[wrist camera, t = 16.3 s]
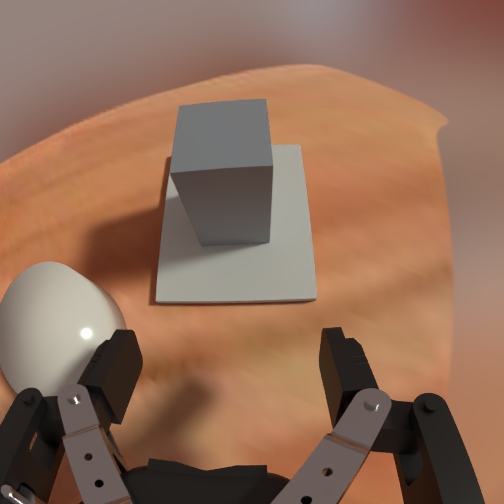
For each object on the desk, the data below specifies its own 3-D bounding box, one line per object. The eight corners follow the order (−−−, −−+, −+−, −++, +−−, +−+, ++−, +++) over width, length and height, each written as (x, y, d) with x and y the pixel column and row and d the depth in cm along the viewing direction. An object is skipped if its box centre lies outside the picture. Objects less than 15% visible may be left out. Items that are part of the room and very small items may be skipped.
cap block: (201, 246, 20) (169, 173, 13) (203, 189, 22) (179, 106, 14) (269, 242, 20) (273, 165, 13) (265, 185, 22) (265, 99, 14)
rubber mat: (158, 303, 19) (155, 301, 19) (174, 155, 24) (173, 150, 23) (315, 300, 19) (317, 298, 19) (299, 149, 24) (300, 144, 23)
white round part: (27, 392, 17) (-8, 390, 13) (36, 280, 20) (5, 262, 16) (127, 414, 17) (98, 421, 13) (132, 281, 20) (107, 260, 16)
